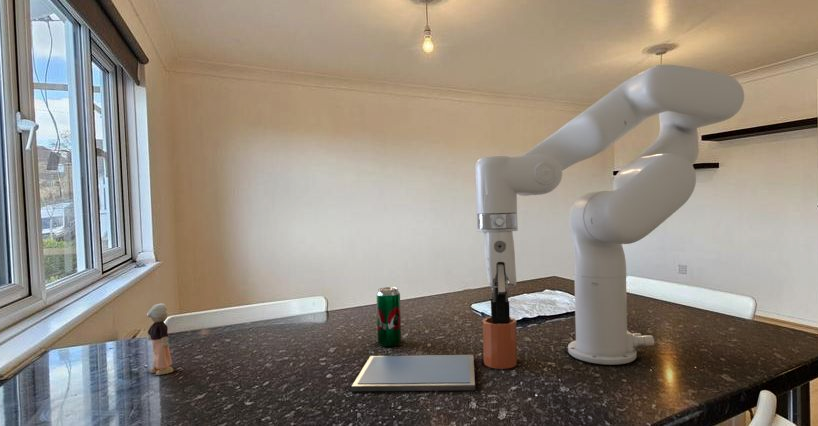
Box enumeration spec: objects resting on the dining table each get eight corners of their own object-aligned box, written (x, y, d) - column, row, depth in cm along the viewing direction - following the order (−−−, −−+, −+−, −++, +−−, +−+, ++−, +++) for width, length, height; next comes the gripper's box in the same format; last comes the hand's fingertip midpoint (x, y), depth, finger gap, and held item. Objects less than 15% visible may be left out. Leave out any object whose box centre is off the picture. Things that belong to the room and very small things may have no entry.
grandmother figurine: (184, 369, 81) (181, 303, 81) (163, 377, 77) (160, 307, 77) (158, 364, 84) (156, 300, 84) (137, 371, 81) (135, 304, 81)
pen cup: (514, 356, 83) (513, 315, 83) (519, 368, 77) (518, 324, 77) (483, 357, 84) (482, 316, 83) (484, 369, 77) (483, 325, 77)
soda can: (403, 340, 96) (401, 286, 95) (398, 347, 90) (397, 291, 90) (381, 340, 96) (379, 286, 96) (375, 347, 91) (373, 291, 91)
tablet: (473, 359, 83) (473, 354, 83) (475, 390, 69) (475, 384, 69) (370, 360, 83) (370, 355, 83) (351, 391, 69) (351, 385, 69)
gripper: (523, 224, 72) (526, 333, 72) (512, 221, 88) (515, 310, 88) (478, 226, 72) (482, 334, 73) (475, 222, 88) (478, 311, 88)
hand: (500, 320), depth 80 cm, fingers closed
